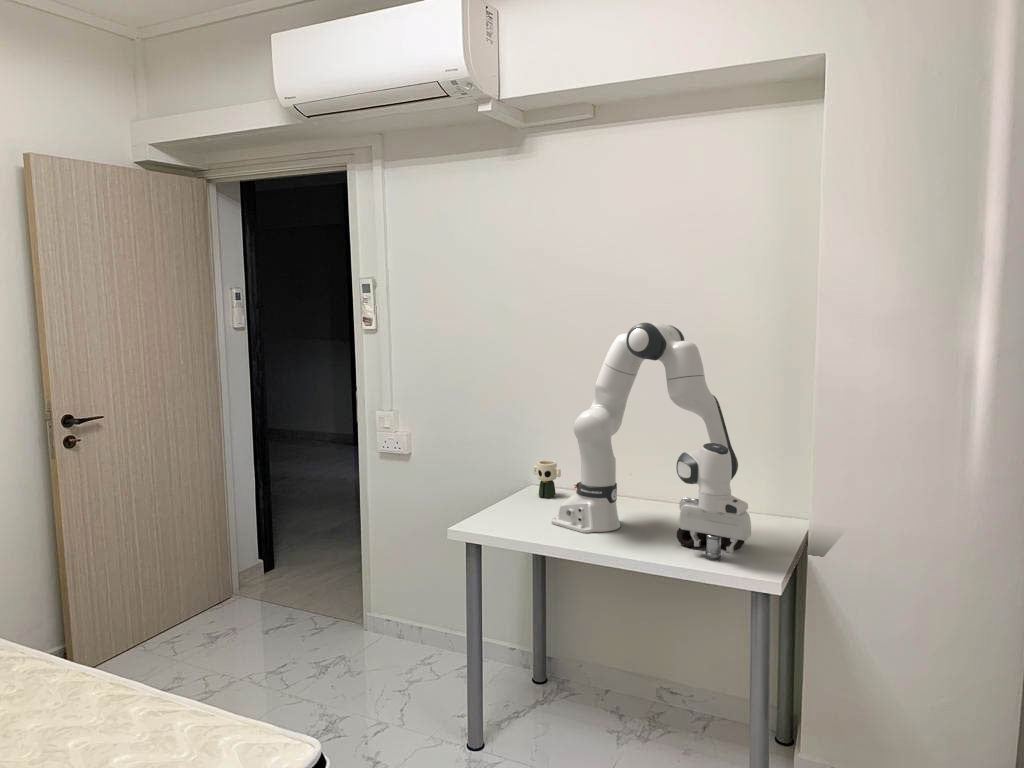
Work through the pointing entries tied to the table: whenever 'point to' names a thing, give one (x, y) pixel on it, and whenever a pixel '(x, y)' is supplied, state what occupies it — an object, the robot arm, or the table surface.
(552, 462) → the character mug
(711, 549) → the container
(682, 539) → the pipe
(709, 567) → the table surface
